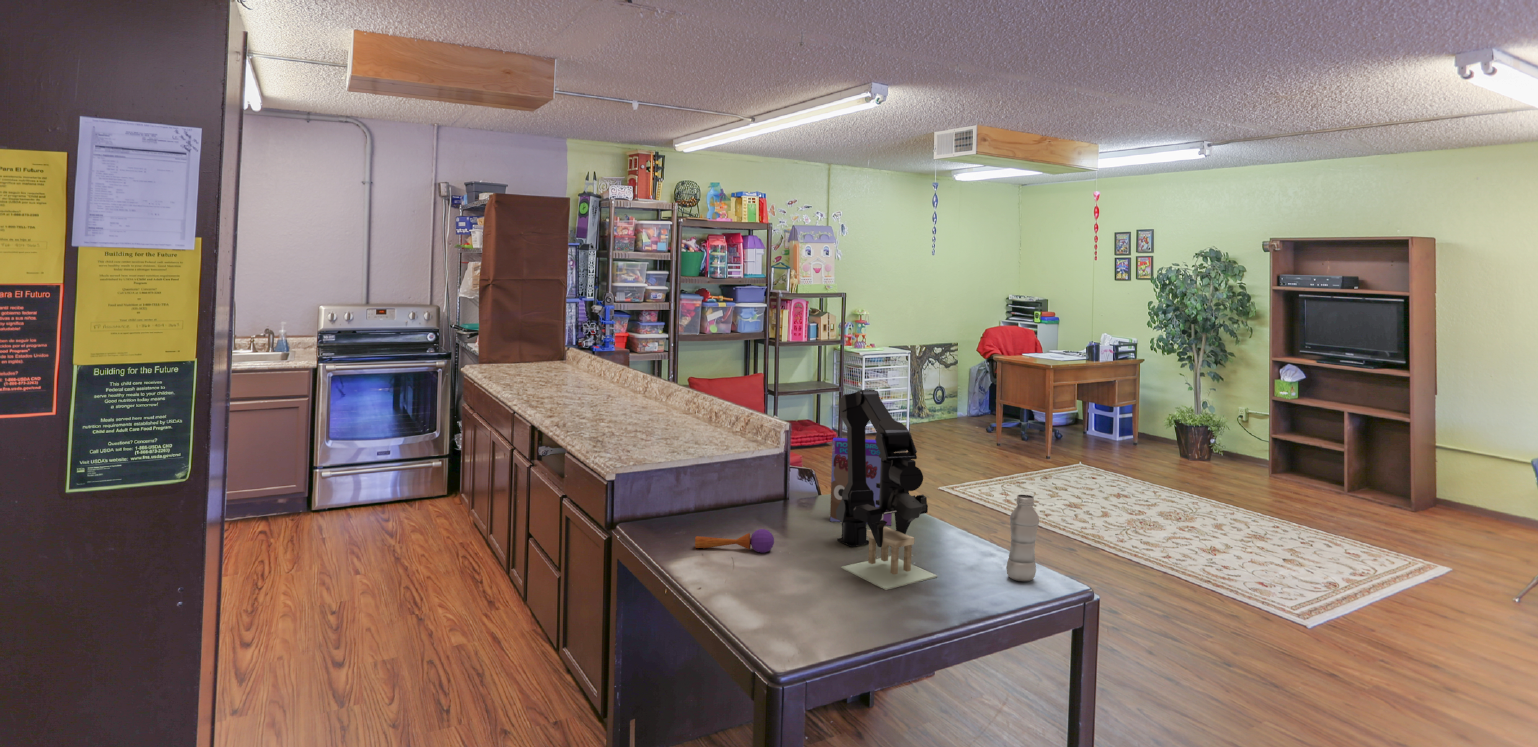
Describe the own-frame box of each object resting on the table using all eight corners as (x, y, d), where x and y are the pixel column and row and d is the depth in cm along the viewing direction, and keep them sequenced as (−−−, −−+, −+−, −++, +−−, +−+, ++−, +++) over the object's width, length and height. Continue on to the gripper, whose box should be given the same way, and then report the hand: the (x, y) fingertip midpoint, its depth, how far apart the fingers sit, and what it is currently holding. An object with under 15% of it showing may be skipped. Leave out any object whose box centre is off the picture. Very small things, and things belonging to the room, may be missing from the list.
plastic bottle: (1001, 574, 191) (1005, 492, 189) (1029, 574, 192) (1033, 492, 189) (1011, 584, 185) (1016, 499, 182) (1040, 584, 185) (1045, 499, 183)
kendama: (698, 529, 209) (774, 527, 207) (698, 552, 208) (775, 550, 207) (693, 532, 203) (772, 529, 201) (694, 556, 202) (773, 554, 201)
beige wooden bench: (893, 575, 185) (895, 541, 184) (865, 562, 193) (867, 530, 192) (913, 570, 188) (914, 537, 187) (884, 558, 196) (886, 526, 196)
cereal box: (830, 521, 231) (832, 439, 229) (831, 517, 236) (834, 436, 233) (891, 525, 228) (894, 443, 226) (891, 521, 233) (894, 439, 231)
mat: (841, 568, 193) (841, 566, 193) (891, 557, 202) (891, 555, 202) (885, 589, 180) (885, 588, 180) (937, 577, 189) (937, 575, 188)
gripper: (884, 493, 177) (882, 561, 178) (945, 483, 187) (942, 548, 188) (852, 482, 186) (850, 547, 188) (912, 473, 196) (910, 535, 198)
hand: (889, 544), depth 190 cm, fingers closed on beige wooden bench, 6 cm apart
